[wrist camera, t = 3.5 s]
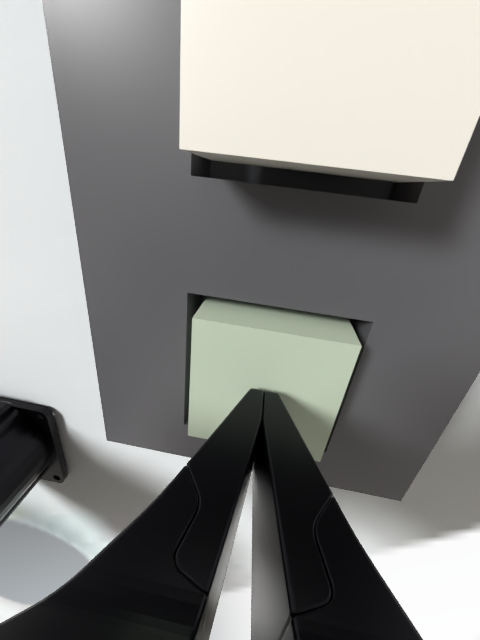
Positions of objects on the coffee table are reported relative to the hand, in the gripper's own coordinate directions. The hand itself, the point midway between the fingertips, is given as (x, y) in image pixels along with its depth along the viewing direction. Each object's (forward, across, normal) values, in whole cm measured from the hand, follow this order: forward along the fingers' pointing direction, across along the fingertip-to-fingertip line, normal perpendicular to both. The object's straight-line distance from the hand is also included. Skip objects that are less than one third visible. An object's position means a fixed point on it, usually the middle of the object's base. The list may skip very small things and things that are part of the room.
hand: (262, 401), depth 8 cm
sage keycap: (+3, 0, 0) cm, 3 cm away
